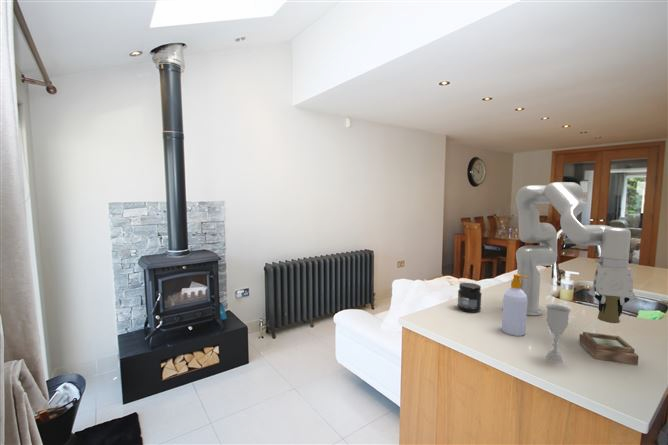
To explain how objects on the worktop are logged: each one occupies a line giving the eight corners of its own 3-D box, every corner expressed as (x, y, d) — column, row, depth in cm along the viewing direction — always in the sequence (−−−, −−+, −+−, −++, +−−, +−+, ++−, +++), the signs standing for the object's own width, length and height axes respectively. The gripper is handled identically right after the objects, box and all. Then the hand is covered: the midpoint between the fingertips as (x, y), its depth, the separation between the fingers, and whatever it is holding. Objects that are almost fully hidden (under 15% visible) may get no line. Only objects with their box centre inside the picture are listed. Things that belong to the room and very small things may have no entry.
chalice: (537, 354, 116) (540, 304, 115) (555, 353, 117) (559, 303, 115) (553, 364, 109) (556, 311, 107) (572, 364, 110) (576, 311, 108)
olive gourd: (623, 324, 113) (626, 292, 112) (603, 322, 115) (606, 291, 114) (612, 317, 119) (615, 287, 118) (593, 316, 121) (596, 286, 120)
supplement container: (476, 306, 165) (477, 282, 164) (483, 313, 155) (485, 288, 154) (454, 305, 166) (455, 281, 165) (460, 312, 156) (461, 288, 155)
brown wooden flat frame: (594, 358, 113) (595, 345, 113) (579, 341, 127) (580, 330, 126) (637, 364, 110) (638, 351, 109) (617, 346, 123) (618, 334, 122)
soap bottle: (518, 338, 129) (522, 278, 126) (496, 329, 137) (499, 273, 135) (532, 334, 133) (535, 276, 130) (510, 325, 141) (513, 271, 139)
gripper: (589, 263, 114) (585, 315, 116) (650, 267, 109) (645, 321, 111) (581, 259, 121) (578, 308, 123) (637, 262, 116) (633, 313, 118)
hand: (609, 313), depth 117 cm, fingers closed on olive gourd, 3 cm apart
